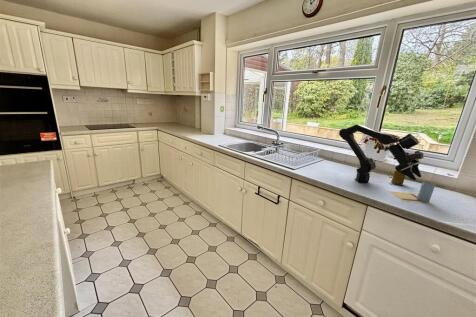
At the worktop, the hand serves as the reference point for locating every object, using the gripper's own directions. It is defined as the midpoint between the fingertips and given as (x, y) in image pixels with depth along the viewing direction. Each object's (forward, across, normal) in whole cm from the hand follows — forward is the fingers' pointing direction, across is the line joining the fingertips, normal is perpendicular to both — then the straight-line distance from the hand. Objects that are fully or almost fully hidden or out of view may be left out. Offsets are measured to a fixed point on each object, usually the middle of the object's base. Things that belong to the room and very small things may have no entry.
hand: (417, 178), depth 110 cm
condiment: (0, +18, +17) cm, 24 cm away
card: (+8, -1, +9) cm, 12 cm away
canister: (+11, 0, +5) cm, 12 cm away
